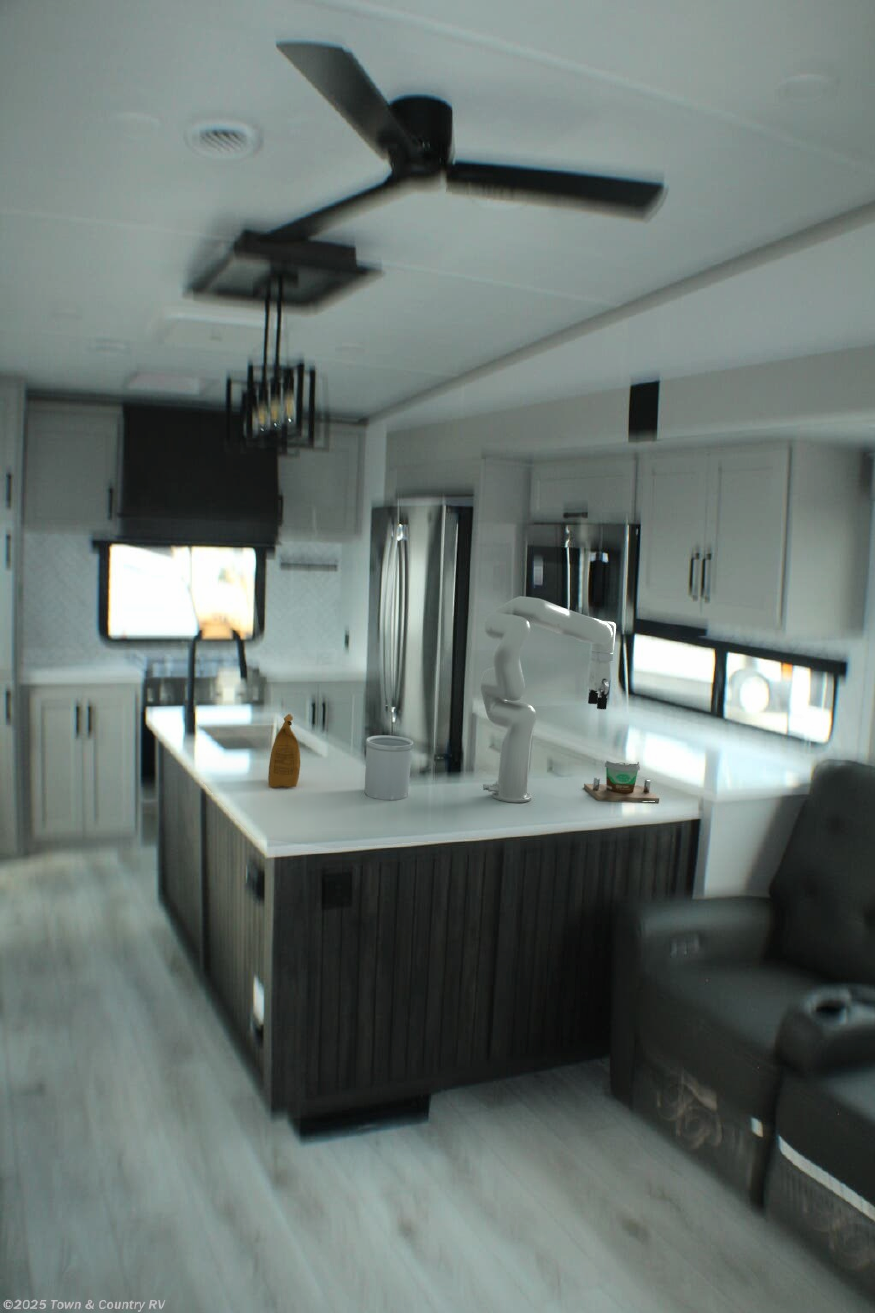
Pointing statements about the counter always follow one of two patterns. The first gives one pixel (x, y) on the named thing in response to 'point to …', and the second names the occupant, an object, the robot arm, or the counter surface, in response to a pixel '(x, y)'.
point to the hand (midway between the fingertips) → (596, 706)
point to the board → (605, 795)
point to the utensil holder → (387, 767)
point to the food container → (621, 777)
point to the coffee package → (284, 758)
